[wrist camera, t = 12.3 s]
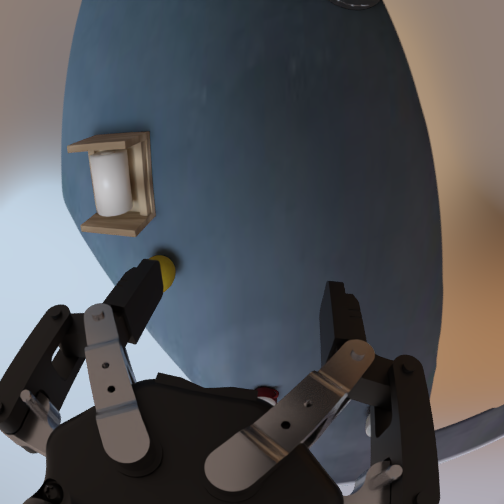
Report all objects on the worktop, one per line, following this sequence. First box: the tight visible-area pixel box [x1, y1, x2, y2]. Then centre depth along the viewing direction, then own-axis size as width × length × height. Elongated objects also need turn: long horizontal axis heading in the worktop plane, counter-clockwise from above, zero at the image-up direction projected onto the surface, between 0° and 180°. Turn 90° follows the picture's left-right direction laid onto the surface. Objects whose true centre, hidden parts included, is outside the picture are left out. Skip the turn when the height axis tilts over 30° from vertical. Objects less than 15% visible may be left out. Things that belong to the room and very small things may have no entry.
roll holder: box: [67, 132, 156, 237], centre depth 39 cm, size 13×10×7 cm
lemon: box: [149, 255, 176, 292], centre depth 46 cm, size 6×6×8 cm
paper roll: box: [90, 149, 133, 217], centre depth 38 cm, size 9×6×6 cm
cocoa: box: [256, 387, 279, 406], centre depth 61 cm, size 10×6×12 cm, turn 113°
